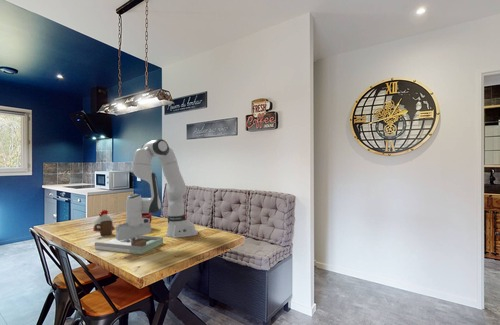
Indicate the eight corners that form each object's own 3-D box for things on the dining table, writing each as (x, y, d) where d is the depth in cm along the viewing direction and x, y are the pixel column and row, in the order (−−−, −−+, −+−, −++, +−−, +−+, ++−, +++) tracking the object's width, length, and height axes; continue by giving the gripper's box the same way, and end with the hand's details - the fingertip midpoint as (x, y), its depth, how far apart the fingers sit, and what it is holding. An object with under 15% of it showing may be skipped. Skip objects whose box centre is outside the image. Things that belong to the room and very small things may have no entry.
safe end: (129, 252, 143) (129, 246, 143) (152, 242, 162) (152, 236, 162) (141, 254, 140) (141, 248, 140) (163, 243, 159) (162, 237, 159)
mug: (96, 238, 172) (96, 224, 172) (91, 236, 176) (91, 223, 177) (114, 233, 182) (114, 221, 182) (108, 232, 186) (108, 220, 187)
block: (131, 247, 146) (131, 240, 146) (141, 244, 151) (141, 238, 151) (136, 249, 142) (136, 242, 142) (146, 246, 147) (146, 239, 147)
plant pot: (136, 227, 201) (136, 212, 201) (153, 226, 202) (153, 212, 202) (130, 231, 188) (130, 216, 188) (148, 231, 189) (148, 215, 189)
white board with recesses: (94, 248, 150) (94, 242, 150) (120, 239, 169) (120, 233, 169) (141, 254, 140) (141, 247, 140) (163, 243, 159) (162, 237, 159)
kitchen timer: (117, 227, 203) (117, 208, 203) (104, 231, 189) (103, 212, 189) (103, 226, 206) (103, 208, 206) (89, 230, 192) (88, 211, 192)
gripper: (118, 225, 138) (118, 250, 138) (152, 218, 154) (152, 241, 154) (113, 223, 142) (113, 247, 142) (146, 217, 158) (147, 239, 158)
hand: (134, 244), depth 148 cm, fingers closed, pressing on block
